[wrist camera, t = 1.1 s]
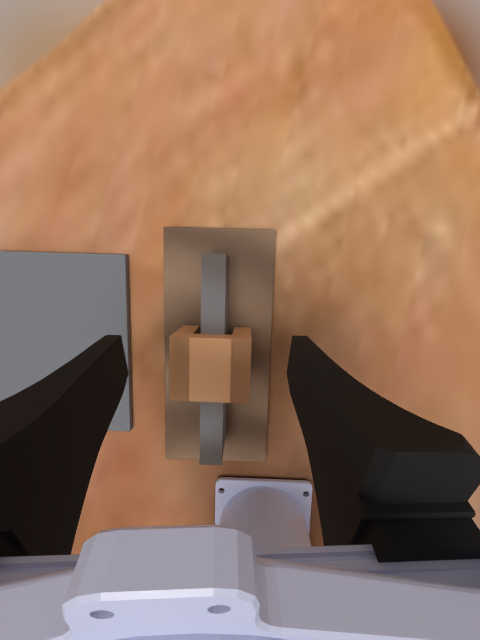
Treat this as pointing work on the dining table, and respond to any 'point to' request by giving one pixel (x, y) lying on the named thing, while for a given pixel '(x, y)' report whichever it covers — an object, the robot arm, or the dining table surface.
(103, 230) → the dining table surface
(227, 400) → the u-shaped block
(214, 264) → the stand
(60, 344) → the mat
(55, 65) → the dining table surface
